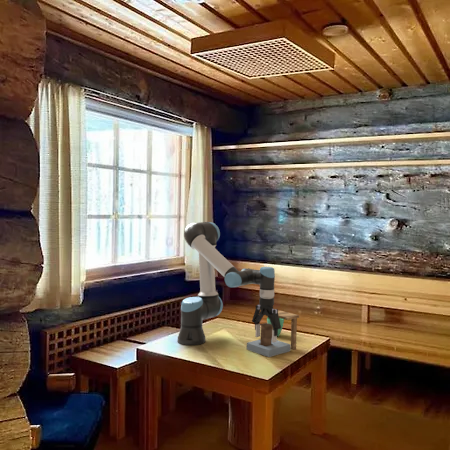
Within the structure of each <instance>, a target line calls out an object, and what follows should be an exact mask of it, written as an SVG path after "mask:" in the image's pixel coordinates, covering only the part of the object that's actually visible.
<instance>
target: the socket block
mask: <svg viewBox="0 0 450 450" xmlns="http://www.w3.org/2000/svg"><path fill="white" fill-rule="evenodd" d="M246 350H248V351H251V352H253V353H256V354H258V355H262V356H265V357H268V358H271V357H274V356H278V355H281V354H285V353H288V352H291V343H287V342H284V341H281V340H278V339H277V342H272V340H271V345H270V346H263V345H260V339H257V340H252V341H248V342H246Z"/></svg>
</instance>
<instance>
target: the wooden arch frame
mask: <svg viewBox="0 0 450 450" xmlns="http://www.w3.org/2000/svg"><path fill="white" fill-rule="evenodd" d="M278 316H279V318H281V319H284V321H289V320H290V321H291V323H290V325H291V328H290V344H291V346H290V350H291V351H296V350H297V331H298V330H297V329H298V328H297V327H298V318H300V315H299V314H296V313H292V312H289V311H283V310H279V309H278ZM272 330H273V326H272Z"/></svg>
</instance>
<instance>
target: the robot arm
mask: <svg viewBox="0 0 450 450" xmlns="http://www.w3.org/2000/svg"><path fill="white" fill-rule="evenodd" d="M220 236H221V232H220V229H219V227H218V225H216V223H214V222H211V221H204V222H203V221H202V222H201V221H200V222H191V223H190V224H188V225H187V226H186V227H185V229H184V230H183V237H184V240H185V243H187V245H188V246H189V247H190V248H191V249H192V250H196V251H197V252H198V269H199V270H198V271H199V288H200V290H199V293H198V294H197V296H192V297H191V296H189V297H186V298H184V299H183V300H182V301H181V306H180V329H179V331H178V336H177V342H178V343H179V344H180V345H186V346H198V345H203V344H204V343H205V342H206V334H205V332H204V331H205V330H204V328H203V320H208V319H211V318H215V317H217V316H219V315H220V314H221V313H222V311H223V307H224V304H223V300H222V298H221V297H220V296H219V293H218V292H217V290H216V274H215V273H216V272H215V270H216V271H217V272H218V273H219V274H220V275H221V276H222V277H223V278H224V282H225V285H226V286H227V287H228V288H238V287H241V286H246V285H252V284H253V285H259V303H258V304H256V305H255V311H254V313H253V317H252V320H251V322H252V323H254V330H255V338H261V321H262V319H263V318H264V316H266V317H268V318H269V319H270V322H271V324H272V326H273V330H272V342H277V340H278V337H279V336H278V329H281V324H280V320H279V316H278V310H279V309H278V308H274V305H275V298H274V297H275V280H276V279H275V278H276V274H275V268H274V267H272V266H261V267H260V268H259V269H254V268H253V269H252V268H242V269H241V270H238V269H237V268H236V267H235V266H234V265H233V264H232V263H231V262H230V261H229V260H228V259H227V258H226V257H224V255H223V254H221V253H220V251H218V249H217V248H216V246H217V242H218V241H219V239H220ZM278 326H279V327H278ZM277 336H278V337H277Z"/></svg>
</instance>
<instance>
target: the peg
mask: <svg viewBox="0 0 450 450" xmlns="http://www.w3.org/2000/svg"><path fill="white" fill-rule="evenodd" d="M259 340H260V345H263V346H270V345H271V340H272V324H269V323H267V322H264V323H260V339H259Z"/></svg>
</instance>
